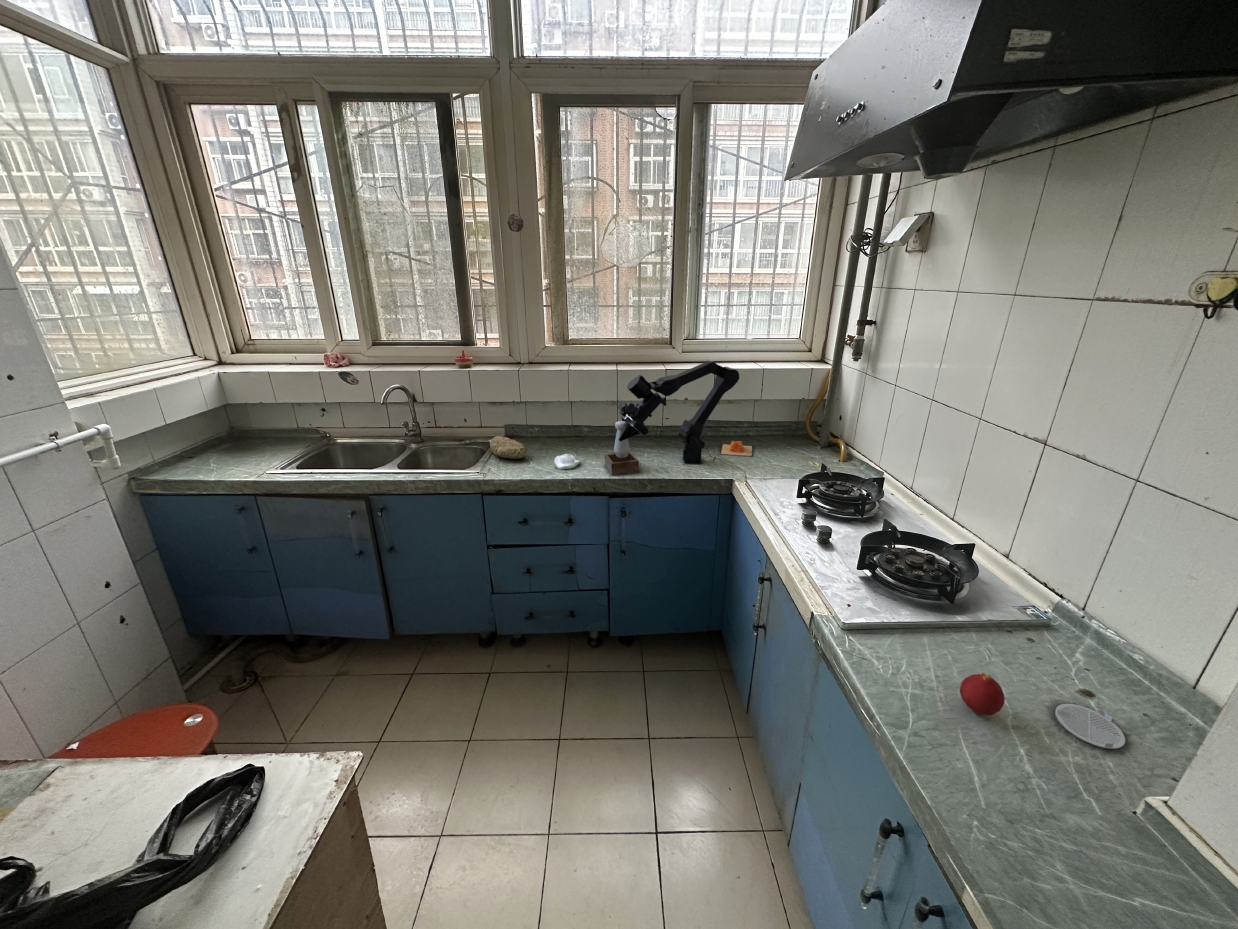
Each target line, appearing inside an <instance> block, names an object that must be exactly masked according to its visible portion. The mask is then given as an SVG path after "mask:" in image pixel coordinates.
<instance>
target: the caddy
mask: <svg viewBox="0 0 1238 929" xmlns="http://www.w3.org/2000/svg"><path fill="white" fill-rule="evenodd" d="M639 464H640V460H639V459H638V458H637V456H635V455H634V454H633V452H632V451H629V454H628V456H626V457H621V458H620V457H617V456H616V454H615V452H614V453H604V467H605V468H606V470H607V471H608V473H609V474H610V475H611V476H617V475H618V476H620V475H628V474H636V473H639V468H640V467H639V466H640V465H639Z"/></svg>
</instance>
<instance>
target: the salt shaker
mask: <svg viewBox="0 0 1238 929" xmlns="http://www.w3.org/2000/svg"><path fill="white" fill-rule="evenodd" d="M614 426H615V429H616V435H615V441H614V447H613V451H614V453H615V454H616V456H617V457H620V458H621V457H626V456H628V454H629V452H631V447H630V443H629V438H627V439H625V440H623V441H619V440H618V439H619V438H620V436H621V435H622V433H623V432H624V430H625V429H626V427H627V423H626V422H625V421H622V420H618V421H616V422H615V425H614Z"/></svg>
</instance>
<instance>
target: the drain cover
mask: <svg viewBox="0 0 1238 929" xmlns="http://www.w3.org/2000/svg"><path fill="white" fill-rule="evenodd" d="M1054 713H1055V718H1056V720H1057V722H1058V723H1059V724H1060V725H1061V726H1062V727H1063V728H1064V729H1065V730H1066V731H1068V732H1069V733H1070V734H1072V735H1073V736H1074V737H1076V738H1078V739H1079V740H1081V741H1084V742H1086V743H1088V744H1090V745H1092V746H1095V747H1098V748H1102V749H1108V750H1116V749H1121V748H1122V747H1124V745H1125V743H1126V737H1125V734H1124V733H1123V731H1122V730H1121V729H1120V728H1119V726H1118V725H1117V724H1116V723H1114V722H1113V717H1112V716H1111V715H1109V714H1108V713H1105V714H1104V715H1103V714H1101V713H1099V712H1098V711H1095V710H1094V709H1091V708H1088V707H1086V706H1083V705H1079V704H1074V703H1062V704H1059V705H1058V706H1056V707H1055V712H1054Z"/></svg>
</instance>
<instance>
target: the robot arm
mask: <svg viewBox="0 0 1238 929" xmlns="http://www.w3.org/2000/svg"><path fill="white" fill-rule="evenodd" d="M711 374H712V375H714V376H715V377H714V383H713V386H712V388H711V390H710V391H709V393H708V394H707V396H706V397H705V398H704V400H703V402H702V403H701V405H700V407H699V408H698V410H696V412H695V414H694V415H693V417H692V418H691V419H690V420H687V419H684V420H683V423H682V424H681V425H680V426H679V427H678V428H679V431H678V437H679V439H681V440H682V443H683V444H684V447H683V448H682V461H684V462H683V463H684V464H697V465H698V464H700V465H701V464H703V462H702V451H703V450H702V449H704V448H705V445H706V442H704V441H703V440H702V439H701V437H702V434H703V428H704V425H705V423H706V422H707V421H708V419H709V418H710V416H711V414H712V413H713V412H714V409H716V407H717V405H718V404H719V403H720V401H721V399H722V398H723V396H724V395H725V394H726V393H728V392H729V391H730V390H731V389H733V388H734V387H735V386H736V384H737V383H738V382H739V380H740V378H741V377H740V373H739V370H737V369H735V368H732V367H730V366H722V365H720V364H718V363H717V362H715V361H712V360H706V361H704V362H702V363H700V364H698V365H696V366H693V367H691V368H689V369H685V370H684V371H682V372H679V373H677V374H672V375H664V376H661V377H658V378H657V379H656V380H654V381H650V382H649V381H648V380H646V379H645V377H644V376H643V375H642V374H638V376H636V377H634V378H633V379H631V380H630V381H629V382H628V384H627V385H626V389H627V390H628V391H629V392H630V393H631V394H633V396H635V397H636V399H638V400H641V401H640V402H635V404H634V403H633V402H630V401H629V402H628V401H626V400H622V399H621V400H620V402H619V404H618V407H617V409H619V414H620V415H621V417H620V418H621V421H625V422H626V423H627V427H626V429H625V430H624V432H623V433H622V435H621V436H620V438H619V439H618V440H619V441H623V440H625V439H627V438H628V439H629V438H632V437H634V436H637V435H643V436H644V437H646V436H647V435H648V433H649V428H648V427H647V426H646V425H645V423H644V422H646V420H647V419H648V418H652V416H653V412H654V411H655V410H656V409H657V408H658V407H659V406H660V405H663V406H664V407H666V406H667V397H669V396H671V395H673V394H675V393H677V392H678V391H679V390H680V389H681V388H682V387H683V386H685V385H688V384H690V383H692V382H694V381H697V380H700V379H701V378H704V377H706V376H709V375H711ZM653 391H654V392H653ZM660 394H661V395H662V396H661V395H660Z"/></svg>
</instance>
